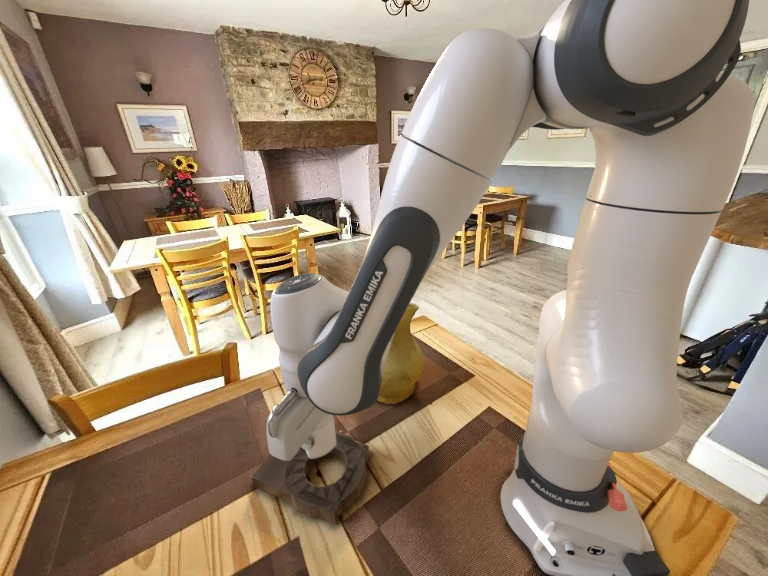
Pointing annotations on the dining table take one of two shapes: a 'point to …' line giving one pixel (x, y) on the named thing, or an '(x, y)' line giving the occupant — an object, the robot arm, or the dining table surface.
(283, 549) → the dining table surface
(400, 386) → the pitcher
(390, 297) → the robot arm
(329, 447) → the eye dropper bottle
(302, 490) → the grey ring plate
